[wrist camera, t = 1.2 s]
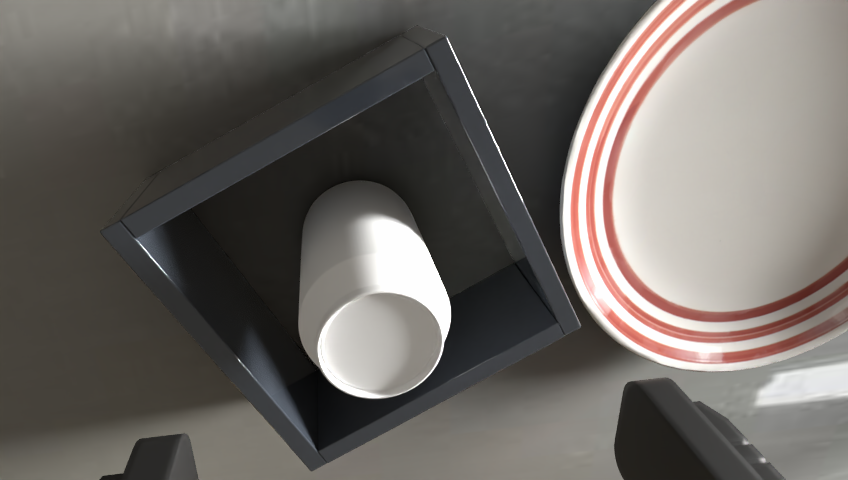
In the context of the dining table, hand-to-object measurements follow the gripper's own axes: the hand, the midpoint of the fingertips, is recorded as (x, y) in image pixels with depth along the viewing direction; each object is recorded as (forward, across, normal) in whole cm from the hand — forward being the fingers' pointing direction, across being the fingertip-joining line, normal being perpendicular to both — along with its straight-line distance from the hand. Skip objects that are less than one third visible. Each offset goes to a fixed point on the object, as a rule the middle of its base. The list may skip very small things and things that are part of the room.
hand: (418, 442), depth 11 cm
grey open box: (+22, 0, +5) cm, 23 cm away
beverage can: (+22, 0, +5) cm, 23 cm away
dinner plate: (+22, -25, +2) cm, 33 cm away
